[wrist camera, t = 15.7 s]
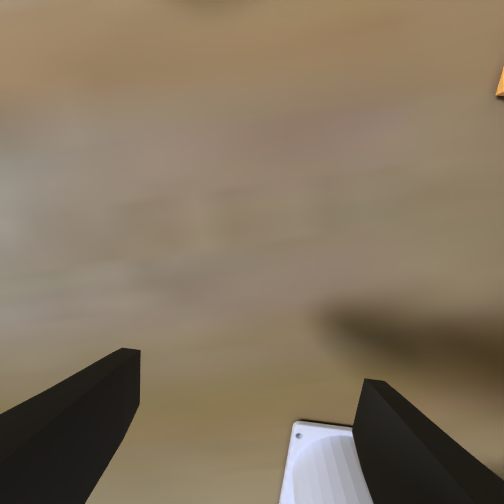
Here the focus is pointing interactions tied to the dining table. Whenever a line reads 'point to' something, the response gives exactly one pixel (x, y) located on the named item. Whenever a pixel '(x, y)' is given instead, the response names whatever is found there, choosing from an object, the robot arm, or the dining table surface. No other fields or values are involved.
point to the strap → (501, 85)
